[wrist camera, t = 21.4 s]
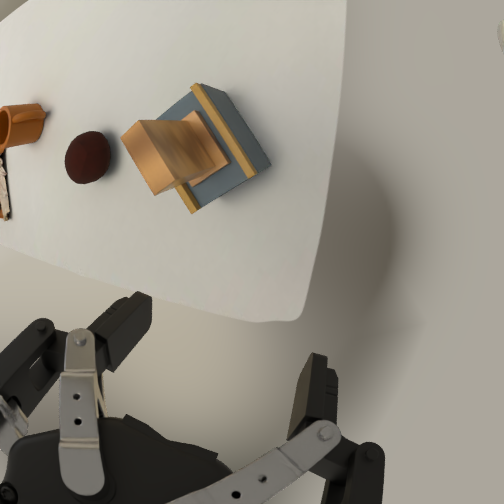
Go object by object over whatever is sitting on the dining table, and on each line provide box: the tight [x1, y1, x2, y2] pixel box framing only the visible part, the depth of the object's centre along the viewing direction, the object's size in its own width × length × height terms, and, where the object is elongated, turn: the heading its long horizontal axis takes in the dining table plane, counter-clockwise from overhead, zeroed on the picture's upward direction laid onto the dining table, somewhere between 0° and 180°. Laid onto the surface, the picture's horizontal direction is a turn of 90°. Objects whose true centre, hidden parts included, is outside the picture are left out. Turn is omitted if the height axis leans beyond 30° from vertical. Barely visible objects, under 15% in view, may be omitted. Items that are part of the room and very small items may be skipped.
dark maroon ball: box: [65, 131, 110, 184], centre depth 38 cm, size 8×9×8 cm
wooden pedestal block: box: [121, 110, 231, 195], centre depth 25 cm, size 7×5×10 cm
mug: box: [0, 104, 46, 149], centre depth 38 cm, size 9×12×9 cm
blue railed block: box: [156, 83, 271, 214], centre depth 33 cm, size 12×9×9 cm
